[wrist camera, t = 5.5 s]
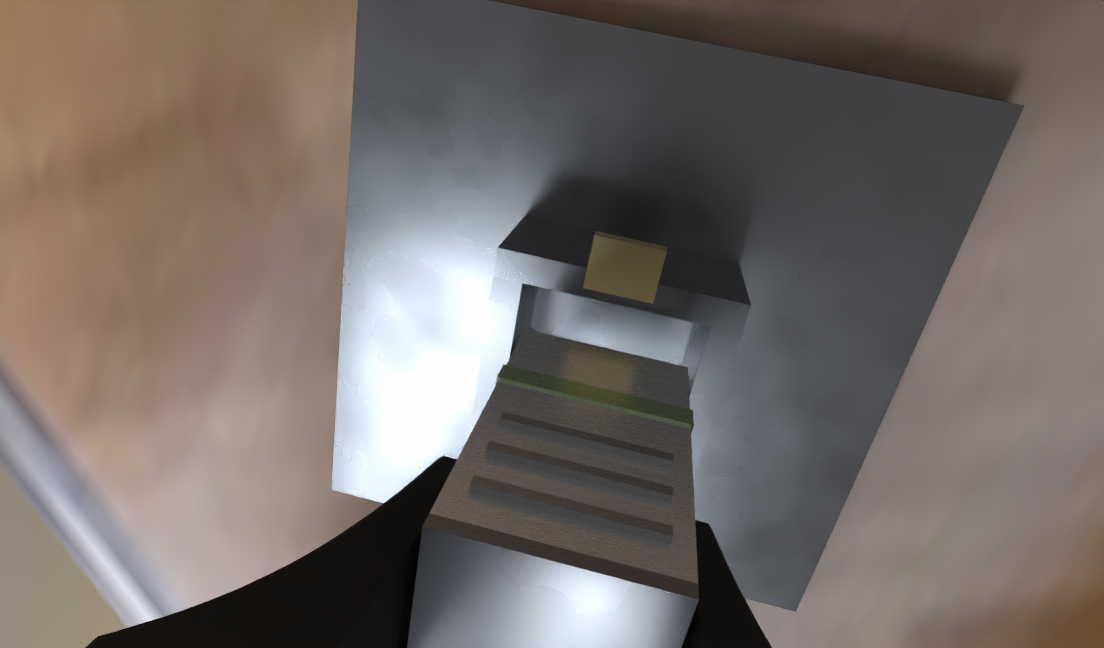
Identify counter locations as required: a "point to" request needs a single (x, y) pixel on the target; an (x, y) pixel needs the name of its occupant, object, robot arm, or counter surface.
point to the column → (566, 509)
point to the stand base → (646, 247)
